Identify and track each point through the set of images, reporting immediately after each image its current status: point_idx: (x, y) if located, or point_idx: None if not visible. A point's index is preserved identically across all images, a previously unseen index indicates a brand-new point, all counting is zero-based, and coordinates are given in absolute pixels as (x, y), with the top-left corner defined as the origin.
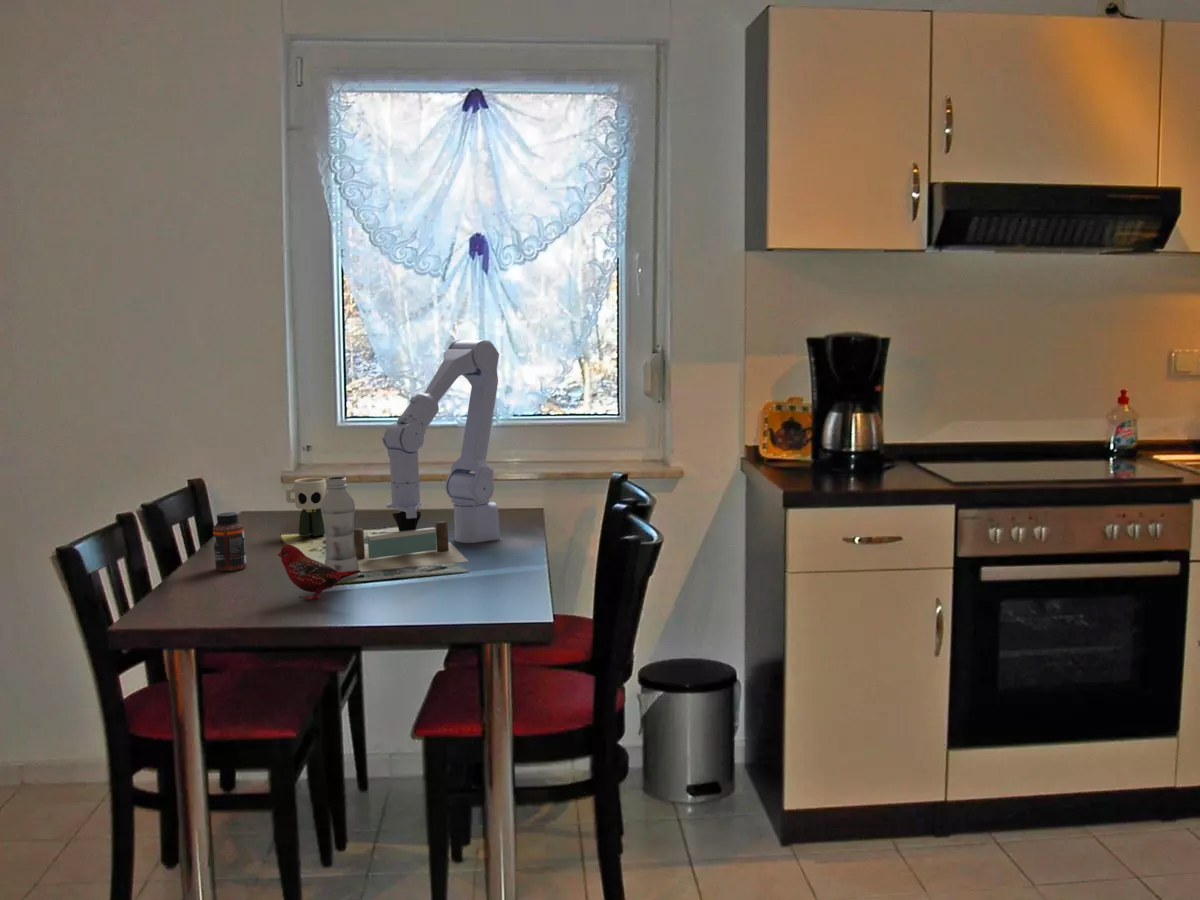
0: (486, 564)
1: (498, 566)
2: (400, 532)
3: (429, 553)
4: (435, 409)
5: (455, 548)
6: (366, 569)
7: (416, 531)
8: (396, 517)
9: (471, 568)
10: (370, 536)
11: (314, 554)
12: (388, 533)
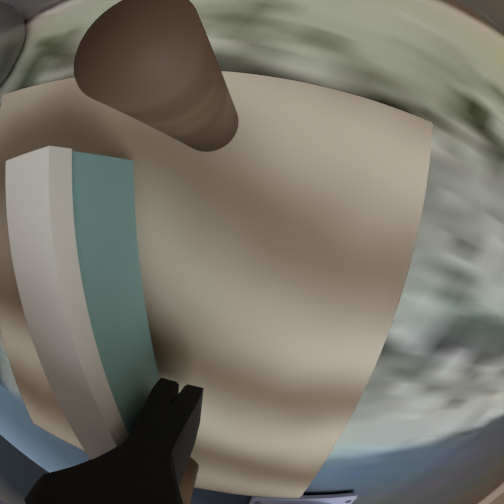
0: (53, 442)
1: (37, 440)
2: (71, 411)
3: None
4: None
5: (194, 486)
6: (7, 130)
7: None
8: (33, 487)
9: (23, 406)
10: (10, 168)
11: (488, 59)
12: (54, 341)
